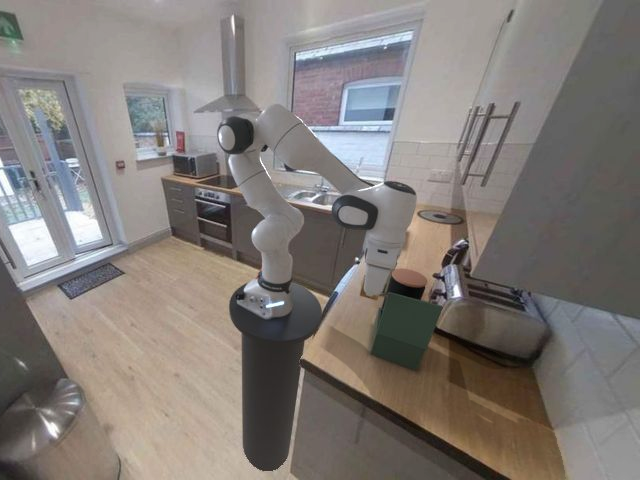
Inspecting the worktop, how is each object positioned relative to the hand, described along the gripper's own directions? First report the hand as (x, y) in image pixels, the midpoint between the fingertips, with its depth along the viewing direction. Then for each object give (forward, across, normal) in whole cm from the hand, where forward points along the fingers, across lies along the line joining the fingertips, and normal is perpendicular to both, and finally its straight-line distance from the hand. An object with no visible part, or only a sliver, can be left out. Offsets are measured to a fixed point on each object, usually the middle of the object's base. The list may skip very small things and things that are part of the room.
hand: (370, 289), depth 72 cm
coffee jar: (+25, -25, +12) cm, 37 cm away
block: (+2, 0, 0) cm, 2 cm away
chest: (+25, -8, +12) cm, 28 cm away
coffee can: (+25, -41, +5) cm, 48 cm away
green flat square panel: (+8, -2, +11) cm, 14 cm away
